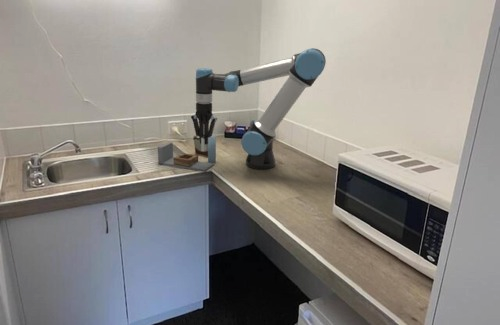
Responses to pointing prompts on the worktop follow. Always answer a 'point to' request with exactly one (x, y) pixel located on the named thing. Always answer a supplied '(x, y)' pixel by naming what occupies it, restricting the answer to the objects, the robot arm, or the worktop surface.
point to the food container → (199, 147)
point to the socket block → (185, 159)
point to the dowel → (212, 149)
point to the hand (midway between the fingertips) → (203, 150)
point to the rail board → (167, 159)
